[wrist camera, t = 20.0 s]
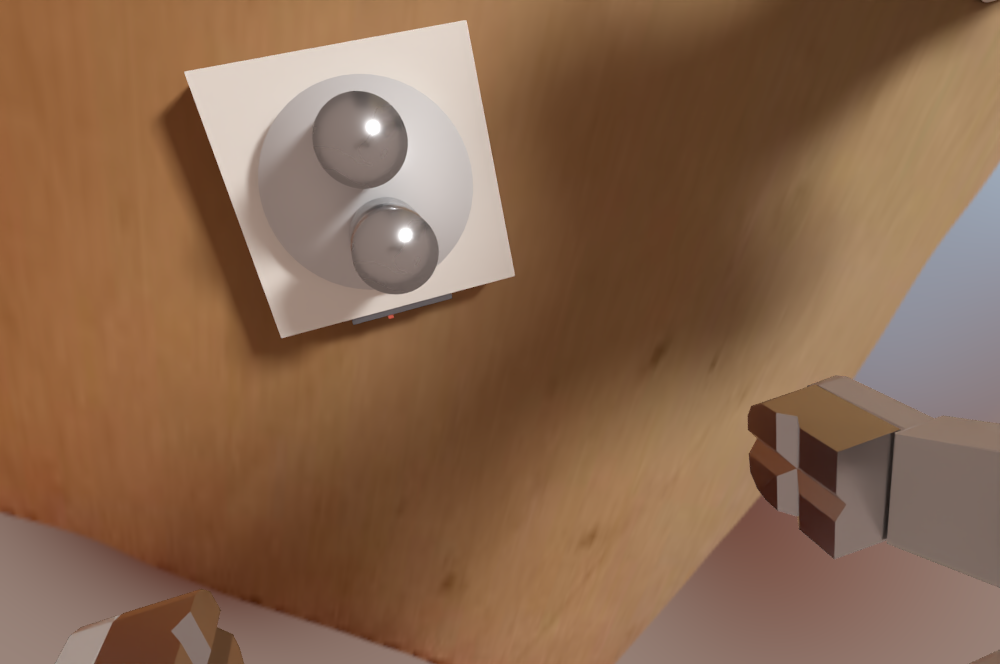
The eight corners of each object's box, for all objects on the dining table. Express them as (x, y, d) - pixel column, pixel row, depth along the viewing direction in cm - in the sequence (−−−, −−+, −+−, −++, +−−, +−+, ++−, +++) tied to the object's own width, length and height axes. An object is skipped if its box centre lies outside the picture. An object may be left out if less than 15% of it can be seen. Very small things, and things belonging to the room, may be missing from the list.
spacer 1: (388, 91, 29) (397, 84, 25) (404, 173, 31) (415, 180, 26) (307, 103, 28) (301, 98, 24) (327, 186, 30) (325, 196, 25)
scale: (455, 29, 33) (470, 16, 29) (503, 274, 38) (521, 290, 34) (197, 76, 30) (178, 69, 27) (289, 331, 36) (283, 354, 32)
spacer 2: (413, 189, 31) (427, 199, 26) (431, 260, 32) (447, 282, 28) (339, 207, 30) (340, 221, 26) (361, 279, 32) (365, 304, 27)
